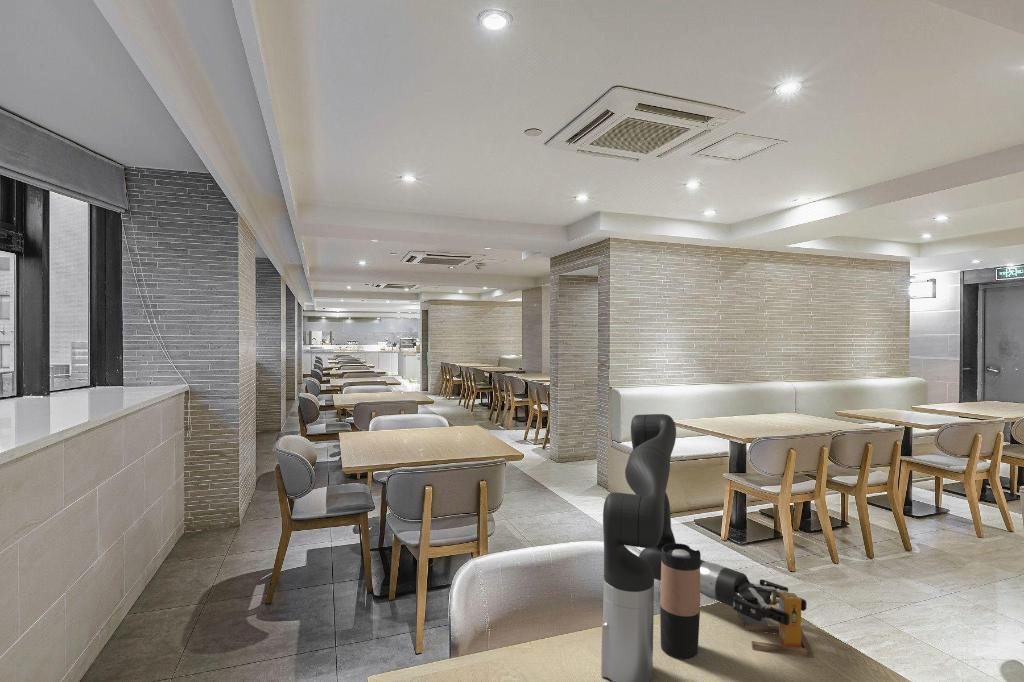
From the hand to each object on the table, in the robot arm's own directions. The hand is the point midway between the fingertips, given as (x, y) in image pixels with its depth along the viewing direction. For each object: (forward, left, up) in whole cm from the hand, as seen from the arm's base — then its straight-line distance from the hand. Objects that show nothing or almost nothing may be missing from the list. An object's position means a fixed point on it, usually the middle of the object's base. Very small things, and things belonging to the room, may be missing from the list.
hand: (797, 612), depth 109 cm
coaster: (-6, +8, -7) cm, 13 cm away
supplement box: (-1, +1, -7) cm, 7 cm away
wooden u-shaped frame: (-4, +1, -7) cm, 8 cm away
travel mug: (-23, -7, -7) cm, 26 cm away
